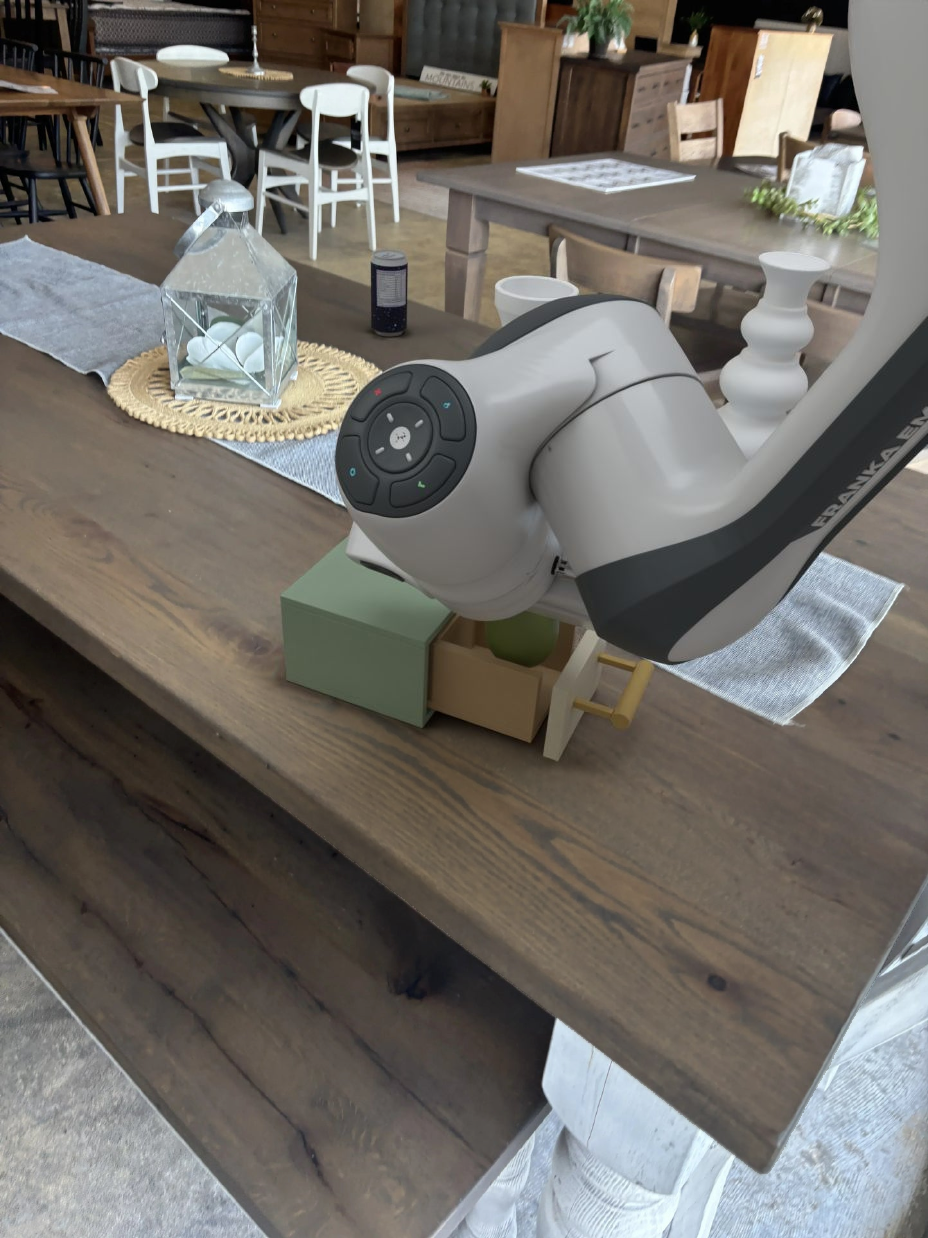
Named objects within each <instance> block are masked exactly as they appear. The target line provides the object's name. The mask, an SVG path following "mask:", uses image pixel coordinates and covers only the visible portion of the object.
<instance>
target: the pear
mask: <svg viewBox="0 0 928 1238" xmlns="http://www.w3.org/2000/svg"><path fill="white" fill-rule="evenodd" d="M485 633H486V639H487V643H488V646H489V648H490V650H491V652H492V653H493V655H494V656H495V657H496V658H499V659H502V660H505V661H509V662H512V663H515V664H518V665H521V666H524V667H527V668H533V667H536V666H538V665H540V664H541V663H543V662H544V661H545V660H547V659H548V657H549V656H550V655H551V654H552V652H553V650H554V648H555V646H556V643H557V640H558V635H559V621H558V620H555V619H552V618H548V617H545V616H542V615H538V614H535V613H532V612H528V611H523V612H521V613H519V614H517V615H515V616H512V617H509V618H506V619H502V620H495V621H485Z"/></svg>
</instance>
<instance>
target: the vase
mask: <svg viewBox="0 0 928 1238" xmlns="http://www.w3.org/2000/svg"><path fill="white" fill-rule="evenodd" d="M757 260H758V262H759V265H760V267H761V269H762V271H763V273H764V276H765V281H766V284H765V288H764V292H763V296H762V297H761V298H760V299H759V300H758V303H757V305H756V306H755V307H754V308H752V309H751V310H749V311H748V312H747V313H746V314H745V315H744V317H743V318H742V320H741V322H740V332H741V336H742V337H743V339H744V340H745V342H746V343H747V346H745V347H744V348H742V350H741V351H740V353H739V354H737V355H735V356H734V357H733V358H731V359H730V360H728V361H727V362H726V363H725V365H723V367H722V369H721V371H720V374H719V378H718V382H719V389H720V392H721V393H722V395H723V396H724V397H725V399H726V400H727V401H728V402H726V403H725V404H724V405H723V406H720V407H719V408H716V410H717V411H718V413H719V414H720V416H721V418H722V419H723V421H724V423H725V424H726V426H727V428H728V429H729V431H730V433H731V434H732V436H733V437H734V439H735V441H736V442H737V444H738V446H739V447H740V449H741V451H742V452H743V454H744V455H745V457H746V459H747V460H748V461H749V460H750V459H751V458H752V457H753V455H754V454H755V453H756V452H757V451H758V449H759V448H760V447H761V446H762V445H763V444H764V442H765V441H766V440H767V439H768V438H769V436H770V435H771V434H772V433H773V432H774V431H775V429H776V428H777V427H778V426H779V425H780V423H781V422H782V421H783V420H784V419H785V418H786V416H787V415H788V414H787V412H788V411H791V410H792V409H793V408H794V407H795V406H796V405H797V403H798V402H799V401H800V400H801V399H802V397H803V396H804V395H805V394H806V393H807V392H808V390H809V380H808V377H807V374H806V372H805V370H804V369H803V368H802V366H801V365H800V359H799V356H798V355H797V353H798V352H799V351H800V350H802V349H803V348H805V347H806V346H807V345H809V344H810V342H811V341H812V339H813V337H814V333H815V327H814V324H813V322H812V319H811V318H810V317H809V314H808V310H809V309H808V305H807V304H806V303H807V299H808V296H809V292H810V290H811V287H812V286H813V285H814V284H815V283H816V282H817V281H818V280H819V279H820V278H821V277H822V276H824V275H825V274H826V273H828V272H829V270H830V269H831V264H830V263H829V262H828V261H827V260H825V259H823V258H820V257H818V256H814V255H811V254H806V253H802V252H801V253H800V252H793V251H786V250H785V251H783V250H782V251H781V250H779V251H767V252H763V253H761V254H759V256H758V258H757Z"/></svg>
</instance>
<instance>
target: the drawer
mask: <svg viewBox="0 0 928 1238" xmlns="http://www.w3.org/2000/svg"><path fill="white" fill-rule="evenodd" d="M577 633H578V626H575V625H572V624H568V623H565V622H562V621H559V635H558V640H557V643H556V646H555V648H554V650H553V652H552V654H551V655H550V656H549V657H548V659H547V660H545V661H544V662H543V663H541V664H540V665H538V666H536V667H533V668H527V667H524V666H521V665H518V664H515V663H512V662H509V661H505V660H502V659H499V658H496V657H495V656H494V655H493V653H492V652H491V650H490V648H489V646H488V643H487V639H486V633H485V621H478V620H473V619H469V618H465V617H463V616H460V615H458V614H456V613H455V614H454V615H453V616H452V617H451V618H450V620H449V621H448V622H447V623H446V624H445V626H444V627H443V628H442V629H441V631H440V632H439V633H438V634H437V635H436V637H435V638H434V639H433V640H432V641H431V643H430V644H429V659H428V685H427V707H428V708H430V709H433V710H435V712H439V713H442V714H445V715H448V716H451V717H454V718H457V719H459V720H461V721H462V720H463V721H466V722H468V723H472V724H474V725H477V726H480V727H483V728H485V729H489V730H490V731H491V730H492V731H495V732H498V733H500V734H503V735H506V736H509V737H511V738H514V739H518V740H520V741H523V742H526V743H529V744H531V743H532V741H533V740H534V738H535V737H536V735H537V733H538V731H539V730H540V728H541V726H542V724H543V723H544V722H545V719H546V717H547V716H548V718H547V726H546V733H545V740H544V747H543V753H542V756H543V757H544V758H547V759H550V760H554V761H557V762H558V761H559V760H560V759H561V757H562V754H563V753H564V752H565V749H566V747H567V745H568V743H569V742H570V739H571V738H572V735H573V734H574V732H575V730H576V728H577V726H578V724H579V722H580V721H581V719H582V717H583V715H584V713H585V712H587V713H589V714H592V715H595V716H598V717H602V718H604V719H606V720H610V723H611V724H612V726H613V727H614V728H616V729H618V730H626V729H628V728H629V727H630V725H631V724H632V720H633V718H634V716H635V714H636V712H637V710H638V707H639V706H640V702H642V699H643V697H644V695H645V692H646V690H647V688H648V685H649V683H650V681H651V680H652V677H653V675H654V673H655V666H654V663H653V662H652V661H651V660H648V659H641V660H639V661H637V662H634V661H631V660H628V659H625V658H621V657H618V656H614V655H611V654H608V653H606V649H607V643H608V642H607V641H605V640H603V639H601V638H599V637H598V636H597V635H596V632H595V631H592V630H588V629H586V631H585V632H584V634H583V635H582V636H581V639H580V641H579V642H578V644H577V645H576V637H577ZM575 645H576V647H575ZM603 665H607V666H609V667H613V668H616V669H620V670H623V671H626V672H630V673H631V675H630V677H629V679H628V681H627V683H626V685H625V688H624V689H623V691H622V694H621V695H620V698H619V700H618V702H617V704H616V706H615V708H612V707H609V706H605V705H602V704H600V703H596V702H593V701H591V700H592V698H593V696H594V694H595V692H596V690H597V688H598V687H599V684H600V683H601V682H600V681H601V676H602V671H603Z"/></svg>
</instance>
